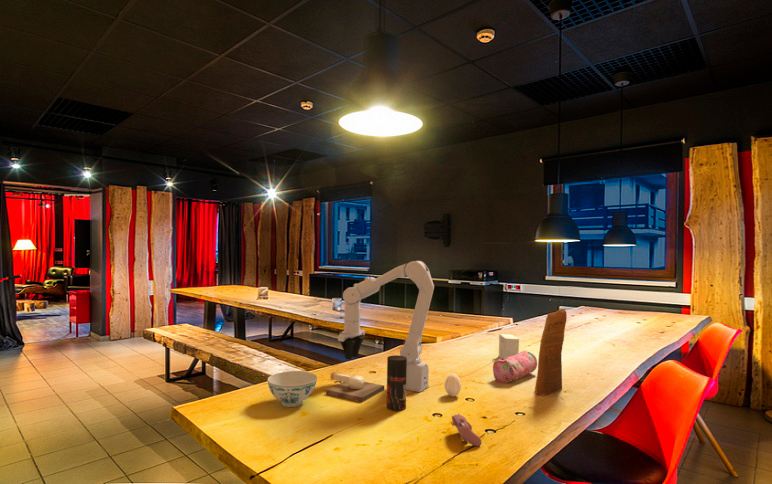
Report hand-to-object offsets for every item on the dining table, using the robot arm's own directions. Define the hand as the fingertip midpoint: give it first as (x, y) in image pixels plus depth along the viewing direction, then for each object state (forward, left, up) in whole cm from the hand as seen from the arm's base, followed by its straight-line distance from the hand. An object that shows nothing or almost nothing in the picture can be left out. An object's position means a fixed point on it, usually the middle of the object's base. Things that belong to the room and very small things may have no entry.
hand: (351, 357), depth 156 cm
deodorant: (-26, +14, -9) cm, 31 cm away
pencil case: (-50, -38, -9) cm, 63 cm away
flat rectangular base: (-8, +9, -8) cm, 15 cm away
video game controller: (-51, +24, -9) cm, 57 cm away
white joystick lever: (-4, +9, -7) cm, 12 cm away
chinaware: (+3, +28, -9) cm, 29 cm away
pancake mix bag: (-64, -29, -9) cm, 71 cm away
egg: (-37, -5, -9) cm, 38 cm away
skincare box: (-41, -64, -9) cm, 77 cm away
